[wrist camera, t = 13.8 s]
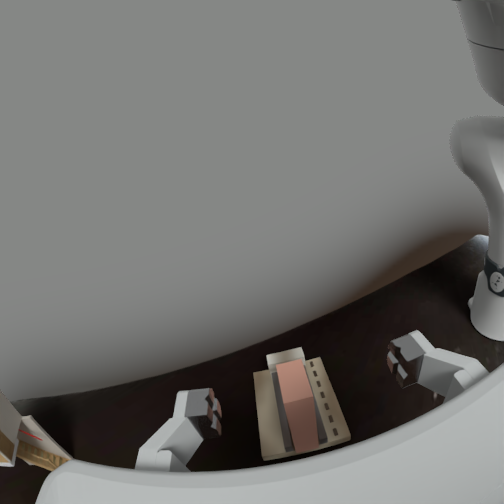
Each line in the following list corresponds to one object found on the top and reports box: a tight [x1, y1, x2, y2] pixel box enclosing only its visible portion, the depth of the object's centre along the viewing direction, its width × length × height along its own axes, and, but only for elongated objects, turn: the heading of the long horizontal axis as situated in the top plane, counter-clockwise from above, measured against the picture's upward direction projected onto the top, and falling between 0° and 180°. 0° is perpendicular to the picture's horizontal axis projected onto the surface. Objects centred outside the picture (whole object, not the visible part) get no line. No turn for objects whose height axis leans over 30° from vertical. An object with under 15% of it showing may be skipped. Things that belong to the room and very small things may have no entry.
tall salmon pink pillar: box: [276, 359, 319, 453], centre depth 28 cm, size 3×6×12 cm, turn 3°
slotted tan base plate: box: [253, 347, 351, 461], centre depth 36 cm, size 12×18×5 cm
